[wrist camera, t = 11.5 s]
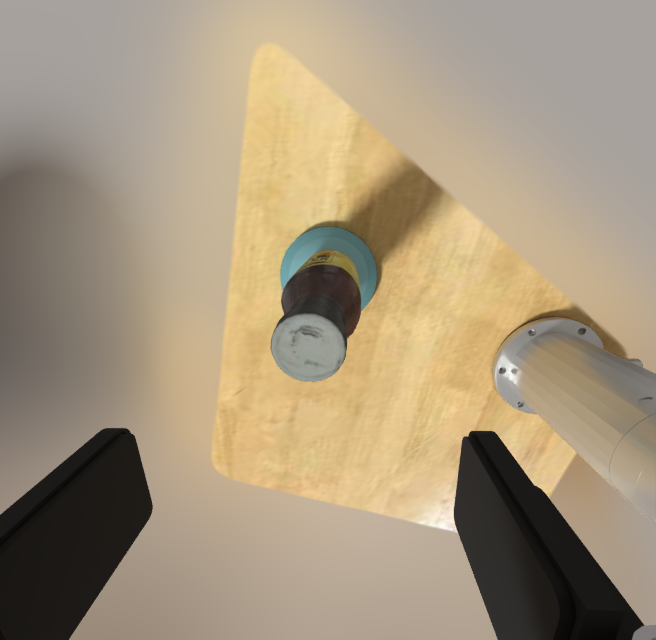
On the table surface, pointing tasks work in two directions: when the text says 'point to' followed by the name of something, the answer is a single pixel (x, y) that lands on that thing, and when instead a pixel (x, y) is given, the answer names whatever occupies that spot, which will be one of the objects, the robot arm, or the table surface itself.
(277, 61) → the table surface
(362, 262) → the coaster
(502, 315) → the table surface
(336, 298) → the sauce bottle
